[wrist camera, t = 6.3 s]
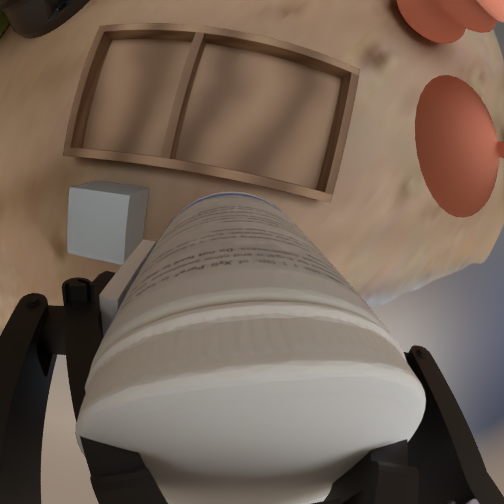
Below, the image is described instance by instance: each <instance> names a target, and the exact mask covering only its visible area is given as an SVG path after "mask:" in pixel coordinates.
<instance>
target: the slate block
mask: <svg viewBox="0 0 504 504" xmlns="http://www.w3.org/2000/svg"><path fill="white" fill-rule="evenodd" d="M148 194H149V188H146V187H139V186H132V185H125V184H118V183H111V182H103V181H95V182H90V183H86V184H81V185H77V186H73V187H70V190H69V203H68V226H67V253H70V254H74V255H78V256H83V257H87V258H92V259H96V260H101V261H105V262H110V263H115V264H119V265H123V264H124V262H125V261H126V260H127V259H128V257H129V256H130V255H131V254H132V253H133V251H134V250H135V249H136V248H137V246H138V245H139V244H140V243H141V242H142V241H143V234H144V225H145V216H146V208H147V201H148Z"/></svg>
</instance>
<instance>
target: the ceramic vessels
mask: <svg viewBox="0 0 504 504" xmlns="http://www.w3.org/2000/svg"><path fill="white" fill-rule="evenodd" d="M397 4H398V8H399V10H400V12H401V14H402V16H403V18H404V19H405V20H406V22H407V23H408V24H409V25H410V26H411V27H412V28H413V29H414V30H415V31H416V32H418V33H419V34H420V35H422V36H423V37H425V38H427V39H429V40H431V41H433V42H437V43H443V44H447V43H452V42H455V41H457V40H458V39H460V38H461V37H462V35H463V34H464V32H465V29H466V28H467V29H469V30H472V31H476V32H479V33H483V32H489V31H491V30H492V29H493V28H494V27H495V25H496V22H497V20H498V21H501V22H503V23H504V0H397ZM415 140H416V148H417V155H418V159H419V163H420V168H421V171H422V174H423V177H424V179H425V182H426V185H427V187H428V189H429V191H430V192H431V194H432V196H433V198H434V199H435V200H436V202H437V203H438V204H439V206H440V207H441V208H442V209H444V210H445V211H446V212H447V213H449V214H451V215H453V216H455V217H468V216H472V215H473V214H475V213H477V212H478V211H479V210H480V209H481V208H482V207H483V206H484V205H485V204H486V202H487V201H488V199H489V197H490V195H491V193H492V191H493V188H494V185H495V182H496V178H497V172H498V164H499V157H502V158H504V141H503V142H498V139H497V135H496V132H495V128H494V125H493V122H492V119H491V116H490V114H489V112H488V110H487V108H486V106H485V104H484V103H483V101H482V100H481V98H480V97H479V95H478V94H477V93H476V92H475V91H474V90H473V88H471V87H470V86H469V85H468V84H467V83H466V82H464V81H462V80H461V79H459V78H457V77H453V76H449V75H444V76H438V77H436V78H434V79H432V80H431V81H430V82H429V83H428V84H427V85H426V86H425V88H424V90H423V92H422V93H421V95H420V99H419V102H418V105H417V110H416V119H415Z"/></svg>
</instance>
